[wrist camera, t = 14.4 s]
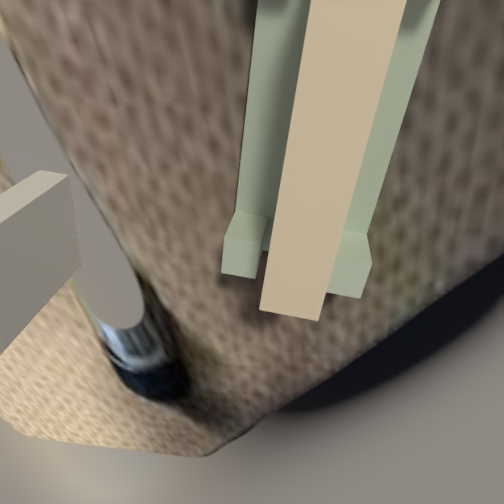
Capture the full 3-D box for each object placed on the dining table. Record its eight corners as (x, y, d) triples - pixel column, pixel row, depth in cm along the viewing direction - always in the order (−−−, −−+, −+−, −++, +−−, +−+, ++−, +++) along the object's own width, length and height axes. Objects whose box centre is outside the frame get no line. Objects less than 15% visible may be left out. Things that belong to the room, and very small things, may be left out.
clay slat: (319, 243, 31) (317, 321, 24) (274, 235, 31) (258, 309, 24) (401, -92, 20) (446, -146, 13) (332, -101, 21) (337, -159, 13)
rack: (355, 260, 33) (360, 298, 28) (233, 238, 33) (221, 272, 29) (472, -118, 20) (511, -149, 16) (275, -142, 21) (264, -178, 17)
